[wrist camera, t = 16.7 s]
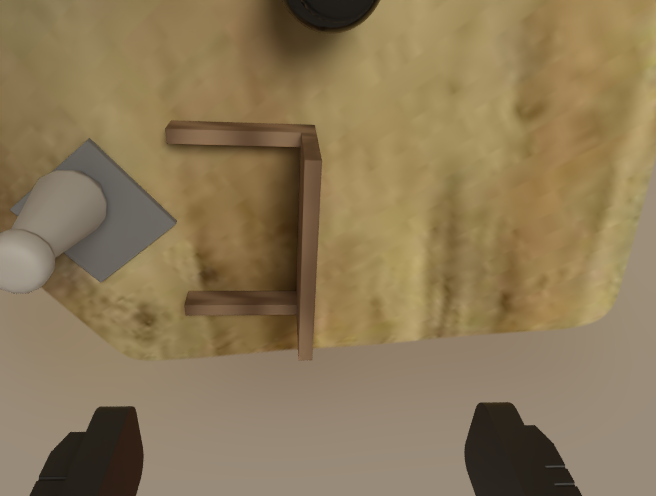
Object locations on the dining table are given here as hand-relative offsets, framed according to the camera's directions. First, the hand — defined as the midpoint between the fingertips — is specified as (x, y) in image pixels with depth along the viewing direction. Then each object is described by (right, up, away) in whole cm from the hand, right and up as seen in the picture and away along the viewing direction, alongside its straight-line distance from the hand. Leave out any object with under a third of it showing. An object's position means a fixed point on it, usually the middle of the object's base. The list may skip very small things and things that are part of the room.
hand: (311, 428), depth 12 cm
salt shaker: (-21, +9, +32) cm, 39 cm away
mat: (-21, +7, +33) cm, 40 cm away
